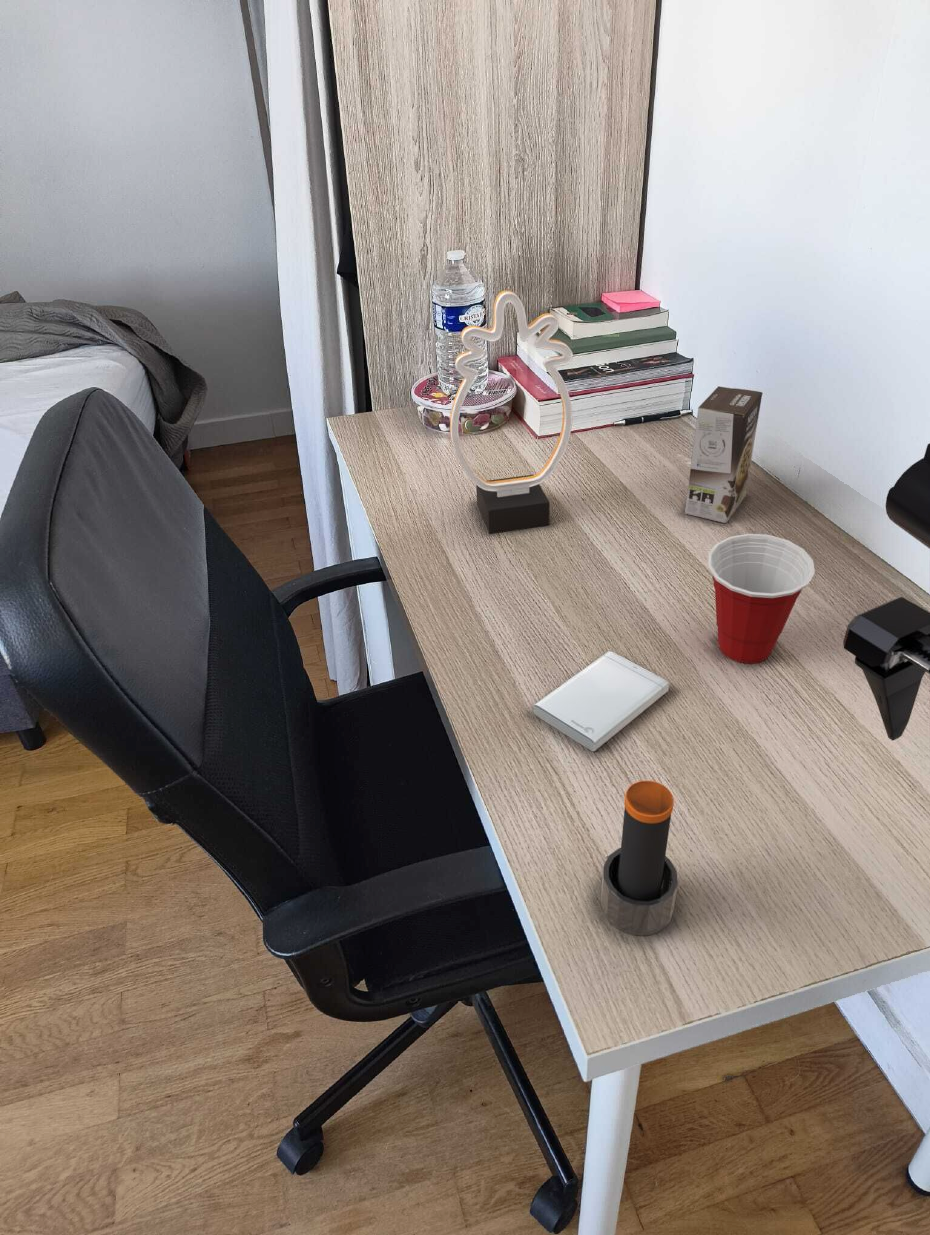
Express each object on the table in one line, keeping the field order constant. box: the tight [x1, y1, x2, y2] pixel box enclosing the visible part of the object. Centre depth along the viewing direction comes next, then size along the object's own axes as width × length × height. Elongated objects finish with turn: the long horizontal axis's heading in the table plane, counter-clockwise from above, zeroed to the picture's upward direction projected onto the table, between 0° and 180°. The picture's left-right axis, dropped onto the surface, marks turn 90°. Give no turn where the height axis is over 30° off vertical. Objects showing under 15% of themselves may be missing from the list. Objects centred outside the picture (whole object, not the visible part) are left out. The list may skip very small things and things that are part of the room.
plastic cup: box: [707, 533, 816, 664], centre depth 92 cm, size 11×11×12 cm
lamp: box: [449, 290, 574, 535], centre depth 113 cm, size 17×9×32 cm, turn 101°
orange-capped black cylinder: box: [617, 780, 675, 902], centre depth 65 cm, size 4×4×12 cm
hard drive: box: [533, 650, 670, 752], centre depth 89 cm, size 2×8×12 cm
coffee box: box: [684, 386, 763, 524], centre depth 117 cm, size 9×6×16 cm
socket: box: [600, 847, 679, 937], centre depth 68 cm, size 6×6×4 cm
